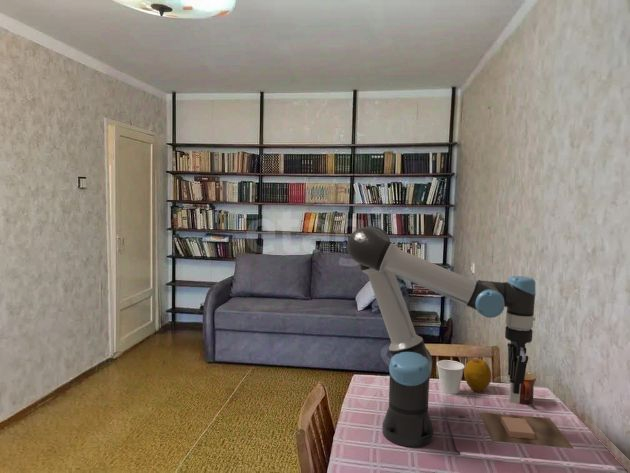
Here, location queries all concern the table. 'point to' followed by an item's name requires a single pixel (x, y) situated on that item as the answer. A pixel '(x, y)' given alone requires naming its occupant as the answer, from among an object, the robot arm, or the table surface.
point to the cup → (450, 376)
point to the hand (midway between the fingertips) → (514, 401)
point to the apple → (477, 374)
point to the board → (541, 427)
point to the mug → (527, 389)
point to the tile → (517, 427)
